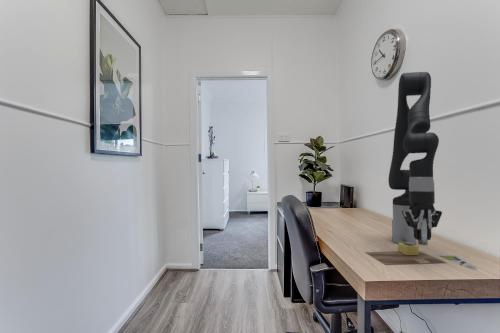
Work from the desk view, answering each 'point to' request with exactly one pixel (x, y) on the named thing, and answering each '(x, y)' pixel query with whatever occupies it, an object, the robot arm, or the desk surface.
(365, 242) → the desk surface
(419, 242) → the metal cylinder
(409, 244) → the yellow square block
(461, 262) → the handheld gaming device
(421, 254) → the board
